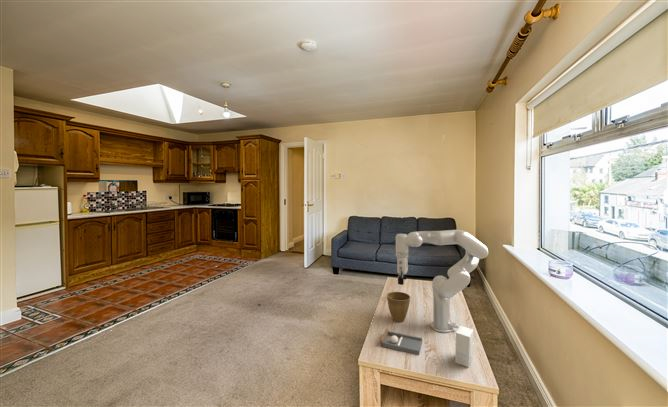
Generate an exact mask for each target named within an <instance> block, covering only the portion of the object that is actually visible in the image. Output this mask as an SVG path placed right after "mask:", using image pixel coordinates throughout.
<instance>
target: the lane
mask: <svg viewBox="0 0 668 407" xmlns="http://www.w3.org/2000/svg"><path fill="white" fill-rule="evenodd" d="M393 335H395V336H397V338H398V342H397V343H392V342H391V336H393ZM422 344H423V337H418V336H414V335H409V334H405V333H400V332H396V331H395V332H394V331H391V330H390V331H389V328H386V329H385V331H384V333H383V334H382V337H381V339H380V347H382V348H387V349H391V350H397V351H399V352H404V353H409V354H413V355H417V356H420V352H421V348H422Z"/></svg>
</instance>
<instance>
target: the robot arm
mask: <svg viewBox="0 0 668 407" xmlns="http://www.w3.org/2000/svg"><path fill="white" fill-rule="evenodd" d="M424 243H426V244H430V245H431V244H432V245H435V246H446V245H447V246H449V245H459V246H460V247H462V248H463V249H464V250H465V255H464V256H463V258H461V259H460V260H458V262H456V263H455V264H453V265H452V266H451V267H450V268H449V269H448V270H447V276H448V278H447V277H446V276H444V275H437V276H435V277H434V278H433V279H432V281H431V283H432V284H431V286H432V296H433V297H432V300H433V302H432V303H433V305H432V306H433V307H432V314H433V315H432V317H433V318H432V321H430V328H431V329H432V330H434V331H436V332H438V333H443V334H444V333H450V332H452V331H453V330H454V329H458V328H459V325H458V324H457V323H456V322H452V320H451V298H452V297H454V296H456V295H457V294H459V293H460V292H462V291H463V290H464V289H465V288H466V287H468V285H469V284H470V282H471V275H470V273H471V272H473V271H475V269H476V268H477V267H478V265H479V262H480V260H483V259H485V258H487V257H488V255H489V250H488V247H487V246H486V245H485V244H484V243H482V242H481V241H480V240H478V239H477V238H476V237H475V236H473V235H472V234H471V233H469V232H467V231H465V230H462V229H447V230H421V231H410V232H409V233H408V234H407V233H397V234H395V257H396V258H397V259H396V260H397V262H396V264H397V265H396V266H397V271H396V272H397V285H401V286H402V285H404V284H405V283H404V282H405V281H404V280H407V273H408V271H409V264H408V261H409V260H408V258H409V247H412V248H418V247H421V245H422V244H424Z"/></svg>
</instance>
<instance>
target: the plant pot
mask: <svg viewBox="0 0 668 407" xmlns="http://www.w3.org/2000/svg"><path fill="white" fill-rule="evenodd" d="M386 300H387V306H388V310H389V312H390V316H391V318H392V321H394V322H395V323H403V322H404V321H405V319H406V317H407V314H408V310H409V306H410V303H411V296H410V294H408V293H406V292H402V291H391V292H388V293H387V294H386Z"/></svg>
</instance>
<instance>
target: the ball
mask: <svg viewBox="0 0 668 407" xmlns="http://www.w3.org/2000/svg"><path fill="white" fill-rule="evenodd" d="M391 342H392V343H397V342H398V338H397V336H395V335H393V336H391Z"/></svg>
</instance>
